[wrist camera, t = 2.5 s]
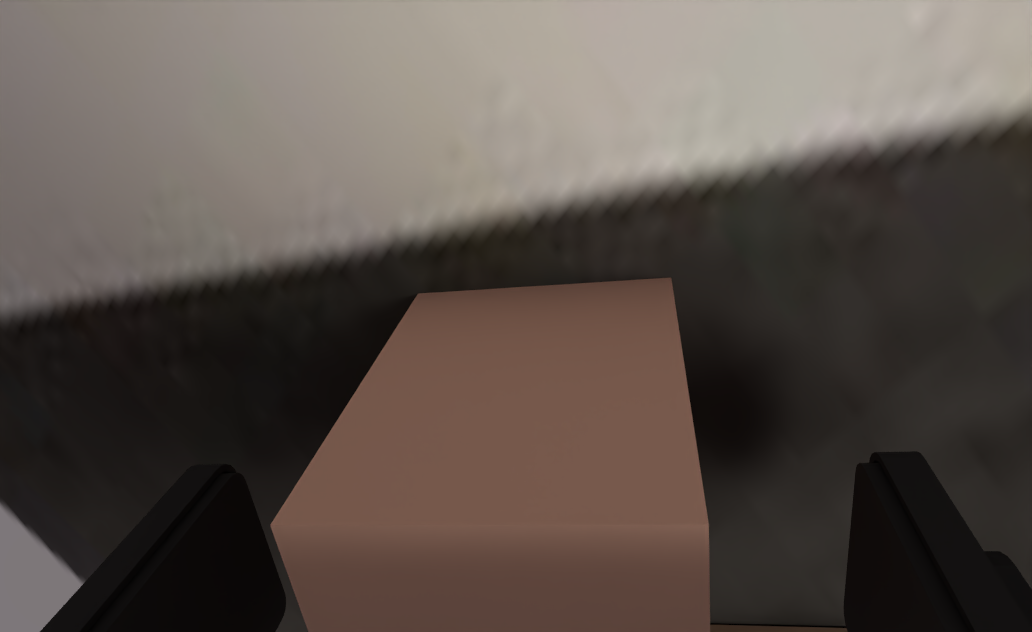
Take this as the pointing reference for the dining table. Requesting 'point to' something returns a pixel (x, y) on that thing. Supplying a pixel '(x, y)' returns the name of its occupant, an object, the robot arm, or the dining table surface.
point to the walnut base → (771, 629)
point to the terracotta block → (510, 473)
